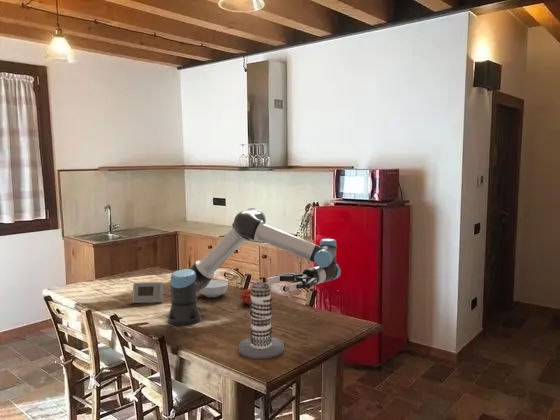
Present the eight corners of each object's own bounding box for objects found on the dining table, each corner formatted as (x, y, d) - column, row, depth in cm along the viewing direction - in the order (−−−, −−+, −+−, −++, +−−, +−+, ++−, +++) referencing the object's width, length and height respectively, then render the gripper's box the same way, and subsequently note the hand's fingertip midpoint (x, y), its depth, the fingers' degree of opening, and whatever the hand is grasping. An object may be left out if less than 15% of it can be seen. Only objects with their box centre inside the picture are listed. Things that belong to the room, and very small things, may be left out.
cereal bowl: (230, 298, 252) (230, 285, 251) (200, 301, 247) (199, 288, 246) (225, 290, 268) (224, 278, 267) (196, 292, 263) (196, 280, 262)
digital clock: (130, 303, 243) (129, 284, 242) (138, 298, 252) (137, 280, 251) (159, 304, 241) (159, 285, 240) (166, 299, 250) (165, 280, 249)
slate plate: (237, 359, 173) (237, 354, 173) (239, 341, 191) (239, 336, 190) (285, 358, 174) (285, 353, 174) (282, 340, 192) (282, 335, 191)
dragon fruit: (242, 303, 247) (257, 311, 239) (233, 297, 241) (249, 305, 233) (249, 289, 249) (265, 297, 241) (241, 283, 243) (257, 291, 235)
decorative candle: (271, 339, 187) (270, 279, 185) (274, 348, 178) (273, 286, 176) (249, 340, 186) (248, 280, 183) (250, 349, 177) (249, 287, 174)
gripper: (334, 290, 197) (299, 300, 182) (294, 278, 215) (259, 287, 201) (334, 273, 196) (299, 281, 182) (294, 263, 214) (259, 270, 200)
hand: (278, 284), depth 191 cm, fingers open, 13 cm apart
